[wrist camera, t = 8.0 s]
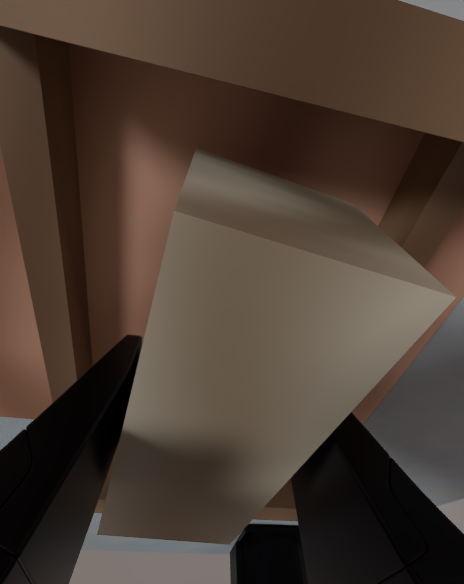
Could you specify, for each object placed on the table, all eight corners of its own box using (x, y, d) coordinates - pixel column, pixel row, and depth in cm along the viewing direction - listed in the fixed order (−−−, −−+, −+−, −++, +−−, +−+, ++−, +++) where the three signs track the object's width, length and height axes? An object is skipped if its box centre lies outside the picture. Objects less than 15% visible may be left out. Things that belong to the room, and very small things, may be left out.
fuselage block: (352, 203, 8) (457, 297, 4) (226, 425, 13) (229, 544, 10) (196, 147, 7) (173, 210, 3) (130, 410, 12) (97, 534, 9)
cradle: (581, 84, 9) (939, 88, 4) (340, 424, 18) (378, 531, 14) (-157, -139, 6) (-1071, -673, 2) (12, 395, 15) (-68, 514, 11)
